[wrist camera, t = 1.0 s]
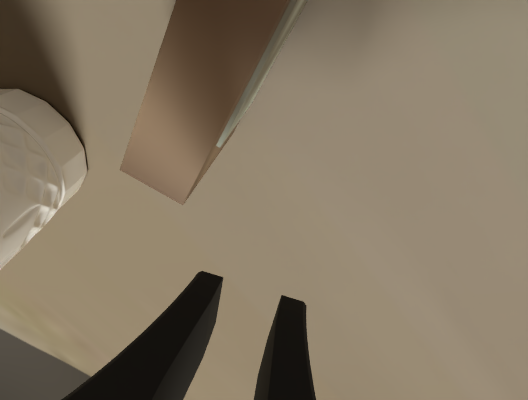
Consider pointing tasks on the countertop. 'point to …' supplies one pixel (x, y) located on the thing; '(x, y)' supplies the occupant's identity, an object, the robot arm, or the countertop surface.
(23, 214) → the white cup
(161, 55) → the picture frame
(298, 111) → the countertop surface
